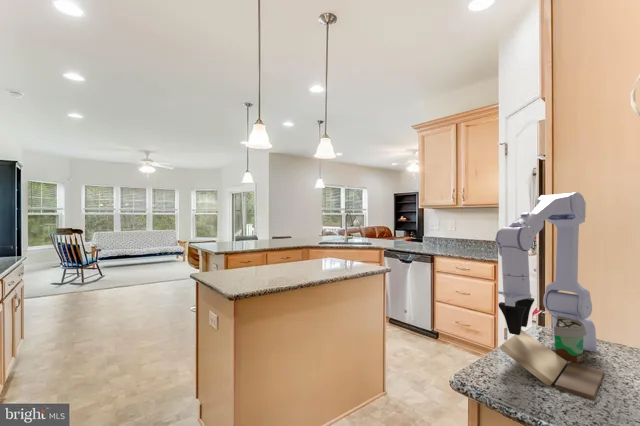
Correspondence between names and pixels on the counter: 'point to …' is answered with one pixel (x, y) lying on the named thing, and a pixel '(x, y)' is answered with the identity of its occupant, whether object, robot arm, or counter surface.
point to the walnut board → (580, 380)
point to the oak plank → (534, 357)
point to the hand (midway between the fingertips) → (518, 329)
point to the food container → (569, 339)
